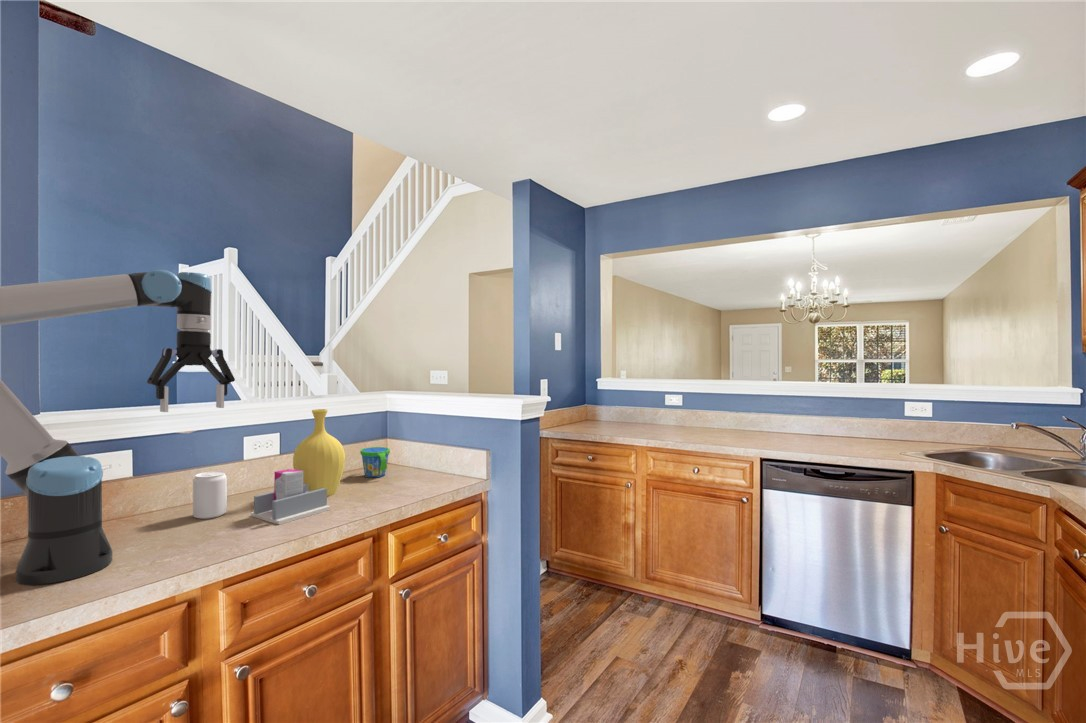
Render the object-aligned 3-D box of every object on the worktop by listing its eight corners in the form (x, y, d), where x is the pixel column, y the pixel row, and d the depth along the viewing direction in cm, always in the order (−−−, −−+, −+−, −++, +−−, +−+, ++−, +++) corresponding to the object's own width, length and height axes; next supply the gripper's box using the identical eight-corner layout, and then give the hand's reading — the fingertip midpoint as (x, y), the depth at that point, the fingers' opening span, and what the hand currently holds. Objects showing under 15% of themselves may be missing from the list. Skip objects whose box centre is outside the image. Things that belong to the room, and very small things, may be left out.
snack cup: (395, 478, 191) (395, 451, 191) (367, 482, 185) (367, 454, 185) (382, 470, 204) (382, 444, 204) (355, 473, 198) (355, 447, 198)
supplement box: (303, 509, 150) (303, 470, 149) (284, 514, 145) (284, 474, 144) (292, 505, 153) (292, 467, 153) (273, 510, 148) (273, 471, 147)
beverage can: (210, 521, 141) (210, 478, 141) (185, 518, 143) (185, 476, 143) (233, 512, 149) (233, 471, 149) (210, 510, 151) (210, 470, 151)
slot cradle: (279, 524, 139) (279, 502, 139) (250, 515, 146) (250, 495, 146) (330, 509, 153) (330, 489, 153) (301, 502, 160) (301, 483, 160)
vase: (350, 495, 167) (350, 411, 167) (296, 503, 158) (297, 413, 158) (339, 485, 181) (339, 406, 180) (289, 491, 172) (289, 408, 171)
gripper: (145, 328, 124) (144, 414, 125) (248, 333, 146) (247, 406, 146) (132, 328, 128) (131, 412, 128) (234, 333, 150) (233, 405, 150)
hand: (193, 409), depth 137 cm, fingers open, 13 cm apart
